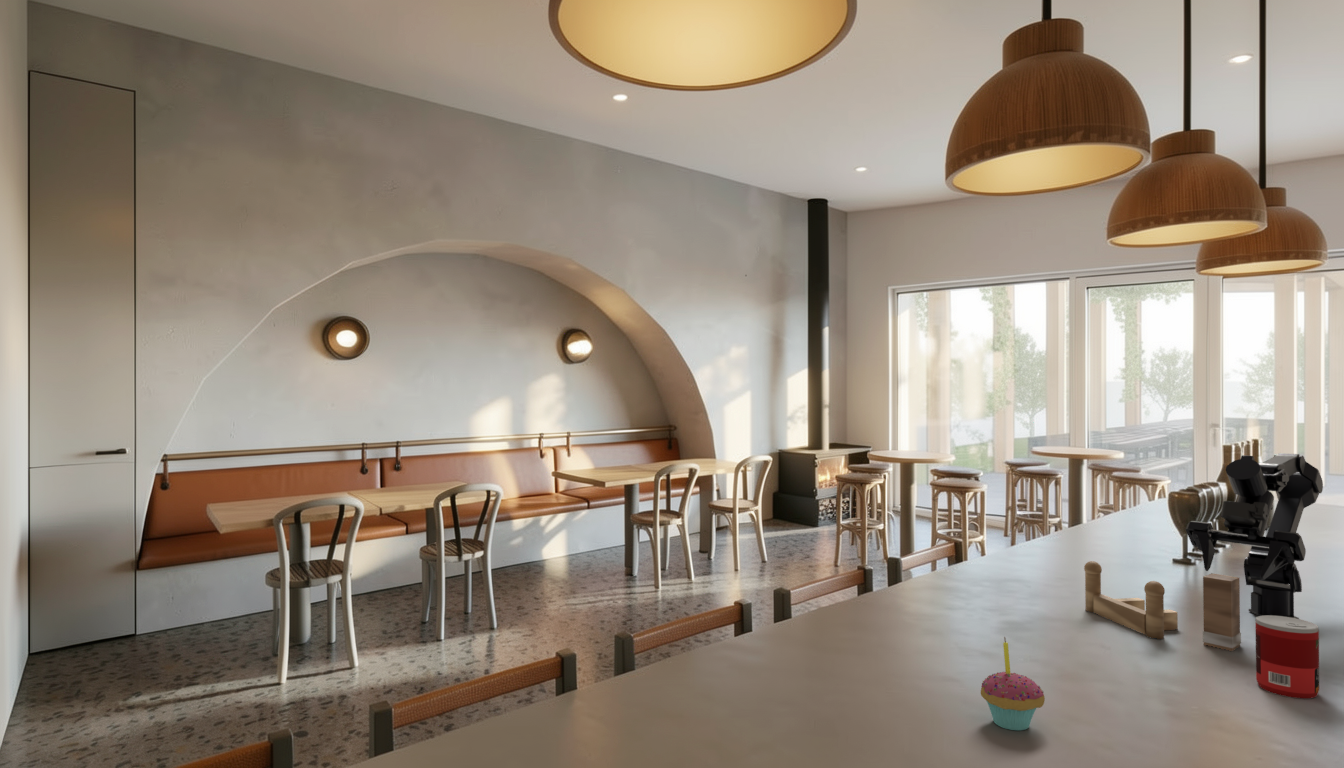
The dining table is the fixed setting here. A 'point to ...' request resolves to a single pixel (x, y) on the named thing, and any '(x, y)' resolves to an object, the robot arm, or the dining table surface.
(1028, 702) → the cupcake
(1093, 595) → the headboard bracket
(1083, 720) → the dining table surface
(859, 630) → the dining table surface
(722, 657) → the dining table surface
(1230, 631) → the block
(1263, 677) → the canned food
